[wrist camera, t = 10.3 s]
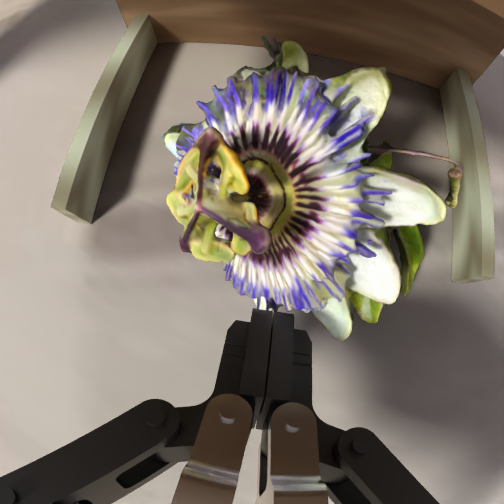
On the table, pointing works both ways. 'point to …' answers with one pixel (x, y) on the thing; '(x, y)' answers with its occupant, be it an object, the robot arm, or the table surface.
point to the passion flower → (302, 191)
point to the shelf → (328, 45)
